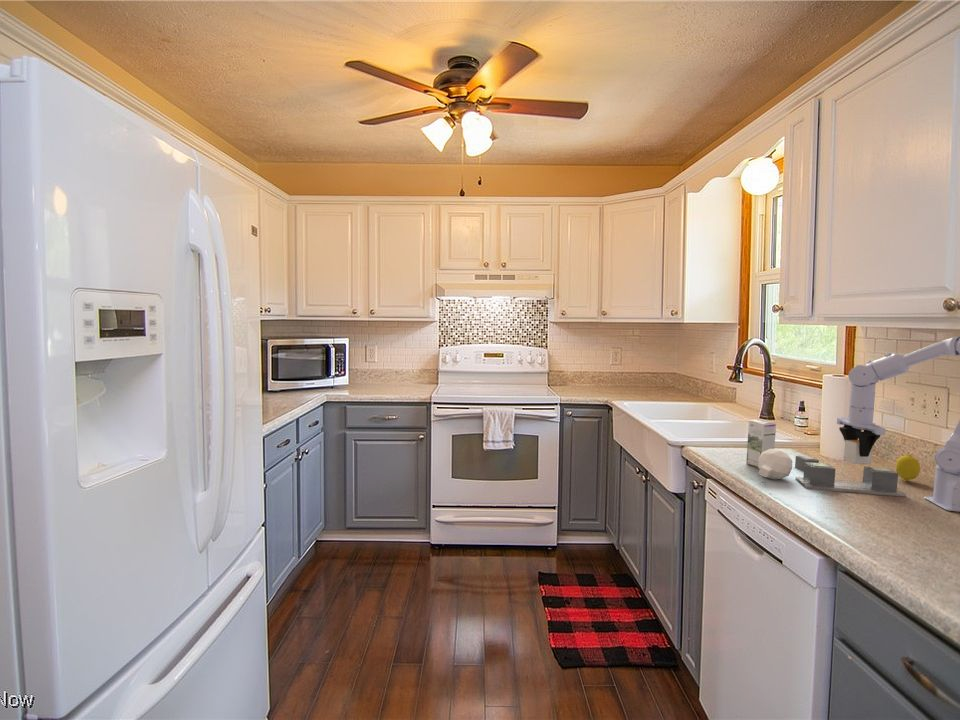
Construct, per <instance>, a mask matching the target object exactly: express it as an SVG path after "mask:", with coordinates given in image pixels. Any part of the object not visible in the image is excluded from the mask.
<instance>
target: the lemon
mask: <svg viewBox="0 0 960 720" xmlns="http://www.w3.org/2000/svg"><path fill="white" fill-rule="evenodd" d="M920 471H921V465H920V461H918V459H917V458H916V457H914V456H912V454H906V455H902V456H900V457H899V458H898V459H897V460H896V463H895V472H897V473H898V477H900V478H901V479H903V480H904V482H909V481H910V480H914V479H916V478H918V476H919V474H920Z"/></svg>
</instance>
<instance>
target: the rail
mask: <svg viewBox="0 0 960 720" xmlns="http://www.w3.org/2000/svg"><path fill="white" fill-rule="evenodd" d="M836 469H837V468H835V467H834V466H832V465H831V464H829V463H822V462H819V463H811V462H804V472H803V475H802V477H800V476H799V477H798V476H795V480H794V481H796V482H797V483H799V484H800V485H801V486H802V487H803V488H805V489H807V490H818V491H820V490H821V491H832V492H844V493H857V494H868V495H880V496H893V497H903V498H904V497H907V493H906V492H904V491H902V490H900V489H899V488H898V481H899V475H898V473H897V472H896V470H895V471H894V470H892V469H891V468H889V467H878V466H877V467H876V466H863V470H862V472H863V473H862V481H861V482H860V481H848V480H836Z"/></svg>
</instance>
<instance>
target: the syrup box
mask: <svg viewBox="0 0 960 720" xmlns="http://www.w3.org/2000/svg"><path fill="white" fill-rule="evenodd" d="M776 433H777V422H775V421H771V420H765V419H762V418H755V419H749V420H748V428H747V446H746V465H749V466H752V467H755V468H758V459H759V457H760V455H761V453H762V452H764V451H766V450H768V449H776V448H775V446H776Z"/></svg>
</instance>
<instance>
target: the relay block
mask: <svg viewBox="0 0 960 720" xmlns="http://www.w3.org/2000/svg"><path fill="white" fill-rule="evenodd" d="M804 462H811V463H820V460H819V459H817V458H815V457H812V456H810V455H795V461H794V463H795V464H794V469H796V470H799V471H801V472H803V473H804Z"/></svg>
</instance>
